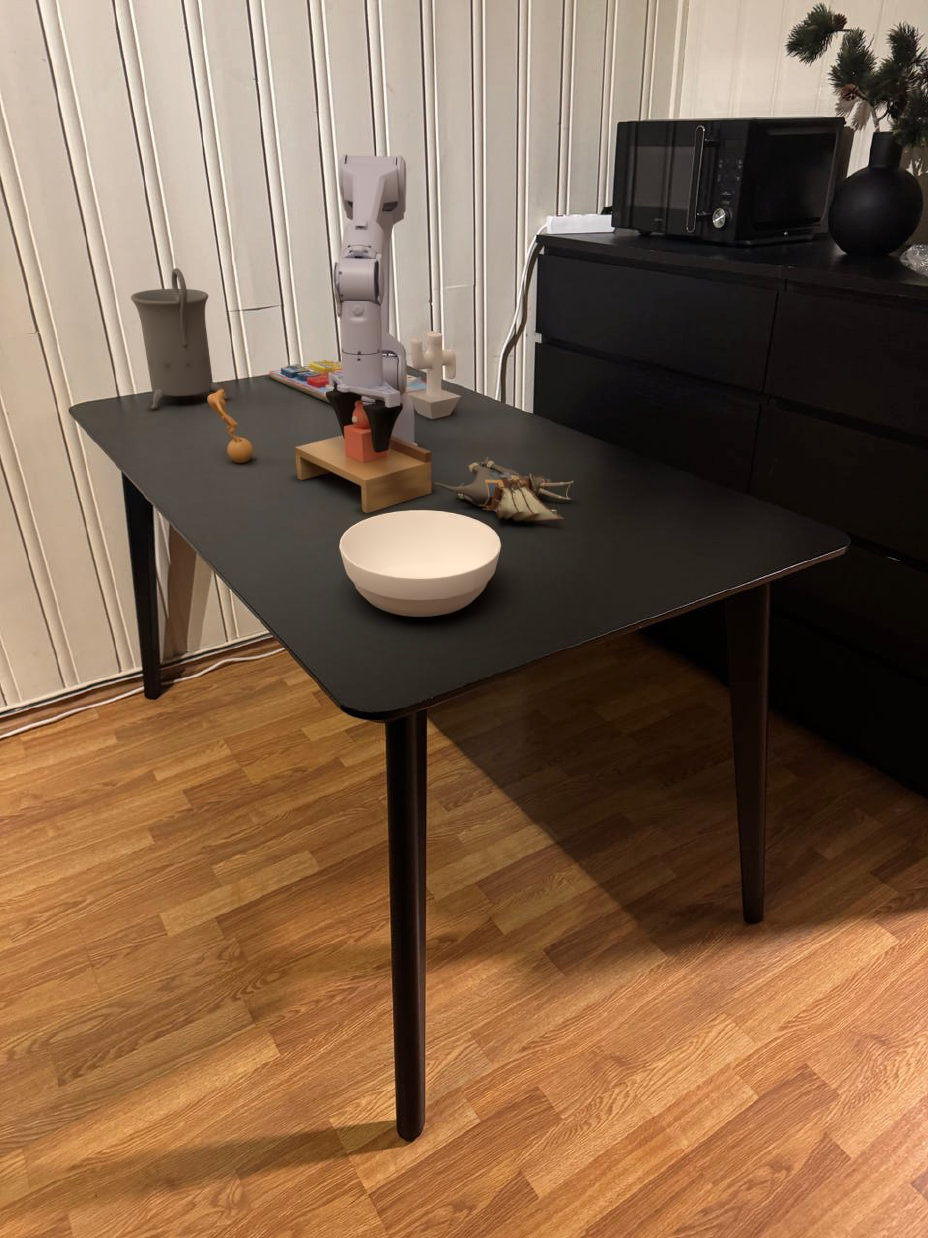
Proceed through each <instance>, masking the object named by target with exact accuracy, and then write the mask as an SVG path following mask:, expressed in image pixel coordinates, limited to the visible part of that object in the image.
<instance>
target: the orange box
mask: <svg viewBox="0 0 928 1238" xmlns="http://www.w3.org/2000/svg"><path fill="white" fill-rule="evenodd" d="M364 405H366V404H363V403H362V401H357V402H356V403H355V407H356V408H355V410H354V412H353V417H352V422H353V423H355V424H352V425H348V426H344V437H345V455H346V456H349V457H351V458H353V459H355V460H358V461H360V462H362V463H365V462H368V461H372V460H376V459H379V458H383V457H387V451H383V452H380V453H376V452H374V449H373V444H372V435H371V428H370V424H369V420H368V418H367V415H366V413H365V411H364V409H363V406H364ZM368 405H369V404H368Z"/></svg>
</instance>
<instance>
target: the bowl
mask: <svg viewBox="0 0 928 1238" xmlns="http://www.w3.org/2000/svg"><path fill="white" fill-rule="evenodd" d="M338 548H339V552H340V555H341V560H342V564H343V566H344V569H345V570H344V571H345V574H346V575H347V577H348V578H349V579H350V580H351V582H353V584H354V586H355V589H356V590H357V592H358V593H359V594H360V595H361V596H362V597H363V598H364V599H365V600H366V601H368V602H369V603H370V604H371V605H373V606H374V607H376V608H378V609H379V610H382V611H384V612H386V613H390V614H394V615H398V616H403V617H412V618H413V617H414V618H426V617H427V618H428V617H436V616H442V615H447V614H451V613H454V612H456V611H459V610H461V609H463V608H465V607H467V606H468V605H470V604H471V603H472V602H473V601H474V600H475V599H476V598H478V596H480V595H481V593H483V591H485V588H486V587H487V585H488V582H489V581H490V580H491V579H492V578H493V576H494V575H495V573H496V569H497V566H498V565H497V564H498V561H499V557H500V554H501V549H502V543H501V539H500V537H499V536H498V534H497V532H496V531H495V530H494V529H492V527H490V526H489V525H487V524H486V523H484V522H482V521H480V520H478V519H474V518H472V517H470V516H467V515H463V514H460V513H459V514H458V513H454V512H448V511H441V510H431V509H429V510H427V509H420V510H419V509H417V510H416V509H414V510H412V509H410V510H401V511H400V510H399V511H393V512H386V513H381V514H378V515H375V516H371V517H369V518H366V519H363V520H360V521H358V522H357V523H355V524H354V525H351V526H350V527H349V528H348V529H347V530H345V532H343V535H342V536H341V538H340V541H339V547H338Z"/></svg>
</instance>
